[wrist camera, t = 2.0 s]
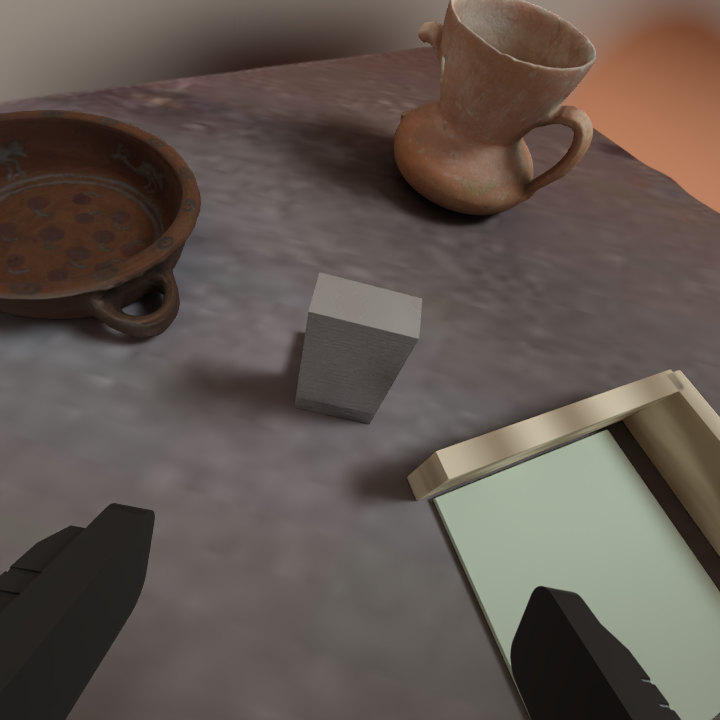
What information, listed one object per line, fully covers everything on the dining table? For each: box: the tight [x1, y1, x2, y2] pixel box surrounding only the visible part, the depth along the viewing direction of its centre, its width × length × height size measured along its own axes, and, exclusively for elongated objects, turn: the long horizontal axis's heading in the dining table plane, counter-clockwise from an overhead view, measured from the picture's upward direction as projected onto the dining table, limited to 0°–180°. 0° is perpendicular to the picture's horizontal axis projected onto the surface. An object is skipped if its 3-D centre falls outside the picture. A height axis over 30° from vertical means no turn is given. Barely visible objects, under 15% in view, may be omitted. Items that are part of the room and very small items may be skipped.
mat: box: [433, 429, 720, 720], centre depth 23 cm, size 15×15×1 cm
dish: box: [0, 110, 201, 338], centre depth 27 cm, size 18×22×5 cm
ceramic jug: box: [394, 0, 596, 215], centre depth 36 cm, size 18×14×14 cm
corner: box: [407, 369, 720, 556], centre depth 22 cm, size 20×17×5 cm
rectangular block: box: [294, 273, 422, 424], centre depth 23 cm, size 6×5×10 cm
